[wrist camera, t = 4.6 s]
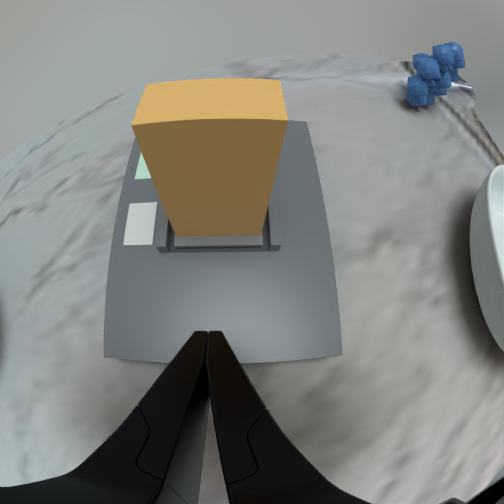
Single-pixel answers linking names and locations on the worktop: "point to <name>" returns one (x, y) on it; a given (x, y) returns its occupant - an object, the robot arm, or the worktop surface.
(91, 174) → the worktop surface
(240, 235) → the switch tab
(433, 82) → the grapes
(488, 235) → the serving bowl
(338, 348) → the switch housing
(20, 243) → the worktop surface
